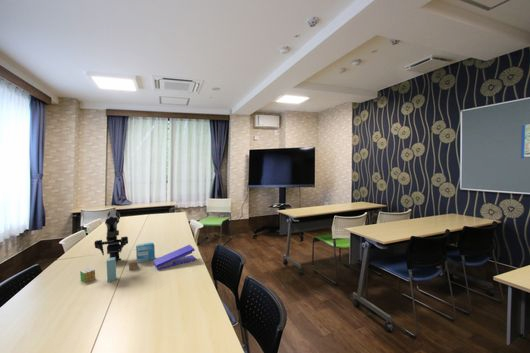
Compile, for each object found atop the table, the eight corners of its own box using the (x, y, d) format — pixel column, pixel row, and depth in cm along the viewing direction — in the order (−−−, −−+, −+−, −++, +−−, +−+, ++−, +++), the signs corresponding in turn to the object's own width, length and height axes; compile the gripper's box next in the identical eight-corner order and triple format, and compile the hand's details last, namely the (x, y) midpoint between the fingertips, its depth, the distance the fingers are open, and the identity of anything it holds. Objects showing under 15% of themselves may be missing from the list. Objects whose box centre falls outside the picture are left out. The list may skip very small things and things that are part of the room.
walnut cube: (129, 267, 167) (128, 260, 167) (137, 266, 170) (137, 259, 170) (129, 270, 163) (129, 263, 163) (137, 268, 166) (137, 261, 165)
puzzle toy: (84, 282, 147) (84, 273, 146) (80, 280, 150) (80, 271, 149) (95, 278, 152) (94, 269, 151) (91, 276, 155) (90, 267, 154)
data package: (136, 262, 175) (136, 246, 175) (136, 260, 179) (136, 244, 179) (154, 259, 181) (154, 243, 181) (154, 257, 185) (153, 242, 185)
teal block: (107, 278, 151) (107, 258, 150) (116, 277, 153) (115, 256, 153) (107, 281, 147) (106, 260, 146) (116, 279, 149) (115, 259, 149)
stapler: (197, 260, 179) (196, 247, 178) (156, 271, 162) (156, 256, 162) (191, 256, 188) (191, 243, 187) (152, 265, 171) (152, 251, 171)
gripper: (94, 228, 156) (92, 250, 147) (127, 224, 165) (128, 245, 156) (95, 237, 163) (94, 258, 154) (127, 233, 172) (128, 253, 163)
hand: (111, 253), depth 156 cm, fingers open, 9 cm apart
